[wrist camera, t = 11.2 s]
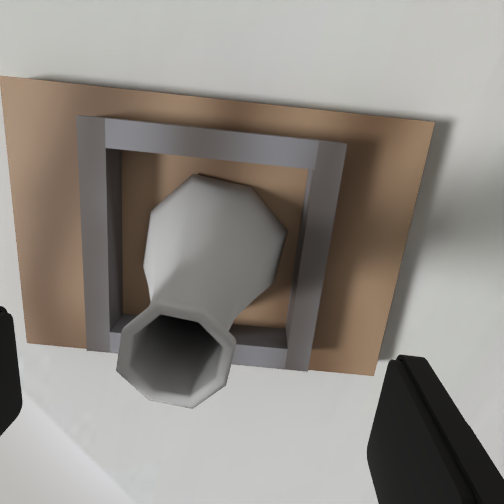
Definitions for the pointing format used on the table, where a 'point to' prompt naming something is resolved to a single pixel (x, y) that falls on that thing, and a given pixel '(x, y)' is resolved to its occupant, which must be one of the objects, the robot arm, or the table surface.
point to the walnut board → (222, 168)
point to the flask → (198, 288)
